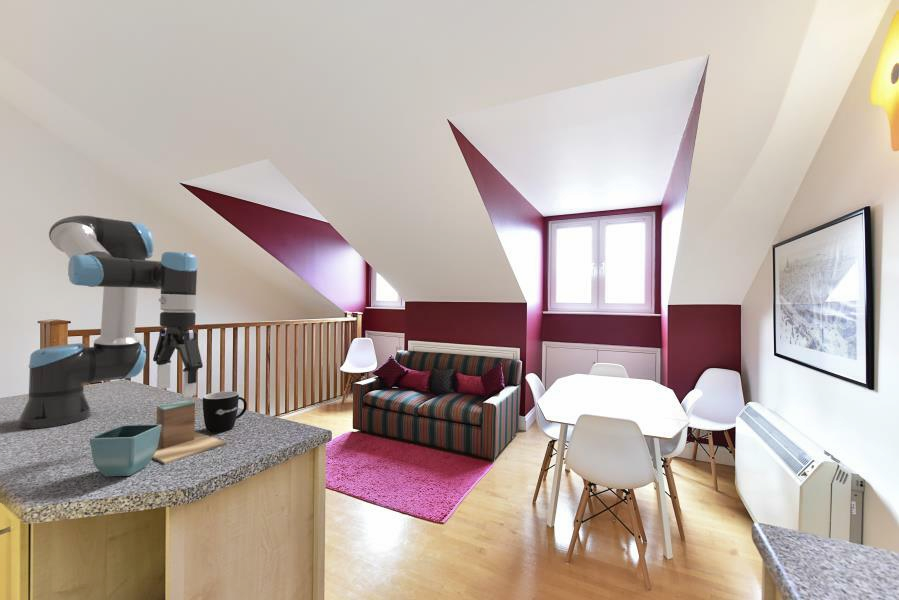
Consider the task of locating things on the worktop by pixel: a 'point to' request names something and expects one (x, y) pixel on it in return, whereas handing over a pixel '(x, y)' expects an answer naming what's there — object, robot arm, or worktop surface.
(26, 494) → the worktop surface
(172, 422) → the block
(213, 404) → the mug
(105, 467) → the flower pot
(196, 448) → the mat
